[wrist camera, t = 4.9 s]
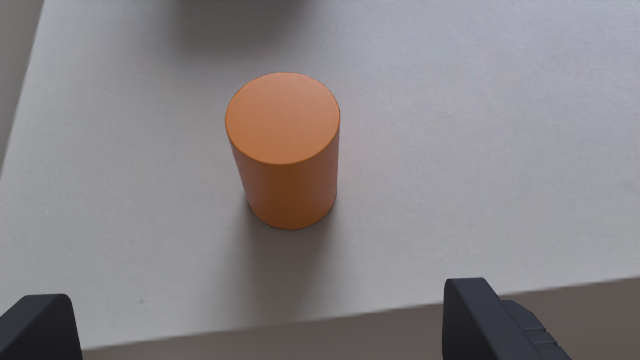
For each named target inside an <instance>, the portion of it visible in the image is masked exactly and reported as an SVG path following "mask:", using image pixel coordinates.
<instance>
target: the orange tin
mask: <svg viewBox="0 0 640 360" xmlns="http://www.w3.org/2000/svg"><path fill="white" fill-rule="evenodd" d="M225 127H226V132H227V135H228V138H229V142H230V145H231V148H232V151H233V154H234V158H235V161H236V164H237V167H238V171H239V174H240V177H241V180H242V184H243V187H244V190H245V193H246V196H247V200H248V203H249V205H250V207H251V209H252V211H253V212H254V213H255V215H256V216H257V217H258V218H259V219H261V220H262V221H263V222H265V223H267V224H268V225H271V226H273V227H276V228H280V229H289V230H293V229H300V228H305V227H307V226H310V225H312V224H314V223H316V222H317V221H319V220H320V219H322V218H323V217H324V216H325V215H326V214H327V213H328V211H329V210H330V208H331V207H332V205H333V203H334V200H335V197H336V191H337V171H338V152H339V133H340V110H339V106H338V103H337V101H336V99H335V97H334V96H333V94H332V93H331V92H330V91H329V90H328V88H327V87H325V86H324V85H323V84H322V83H320V82H319V81H317V80H315V79H313V78H311V77H309V76H306V75H302V74H298V73H291V72H280V73H272V74H267V75H264V76H261V77H258V78H256V79H254V80H252V81H250V82H249V83H247V84H246V85H244V86H243V87H242V88H241V89H240V90H239V91H238V92H237V93H236V94H235V95H234V96H233V98H232V99H231V101H230V103H229V105H228V108H227V111H226V116H225Z"/></svg>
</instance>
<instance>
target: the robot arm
mask: <svg viewBox="0 0 640 360" xmlns="http://www.w3.org/2000/svg"><path fill="white" fill-rule="evenodd" d="M443 305H444V306H443V327H442V354H443V360H571V359H570V357H569V356H568V355H567V354H566V353H565V351H564V350H563V349H562V348H561V347H560V346H558V345H557V342H556V341H555V339H554V338H553V337H552V336H551V335H550V333H549V332H546V329H545V328H544V326H543V325H542V324H541V323H540V321H539V320H538V319H537V318H536V317H535V315H534V314H533V313H532V312H530V311H529V310H527V309H525V308H524V307H522V306H521V305H519V304H517V303H516V302H514V301H512V300H500V299H499V297H498V296H497V295H496V293H495V292H494V291H493V289H492V288H491V287H490V285H489V284H488V283H487V281H486V280H485V279H484V278H482V277H480V278H455V279H447V280H446V282H445V287H444V304H443ZM0 360H83V358H82V352H81V347H80V342H79V337H78V332H77V327H76V322H75V316H74V311H73V306H72V302H71V300H70V298H69V297H68V296H67V295H66V294H41V295H26V296H24V297H23V298H21V299H20V300H19V301H18V302H17V303H16V304H14V305H13V306H12V307H11V308H10V309H9V310H8V311H6V312H5V313H4V314H3V315H2V316H1V317H0Z"/></svg>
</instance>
